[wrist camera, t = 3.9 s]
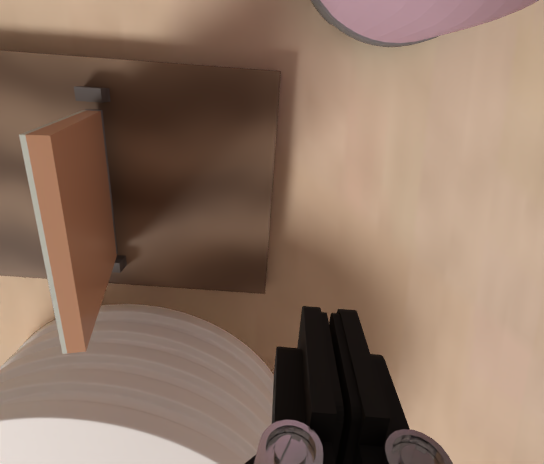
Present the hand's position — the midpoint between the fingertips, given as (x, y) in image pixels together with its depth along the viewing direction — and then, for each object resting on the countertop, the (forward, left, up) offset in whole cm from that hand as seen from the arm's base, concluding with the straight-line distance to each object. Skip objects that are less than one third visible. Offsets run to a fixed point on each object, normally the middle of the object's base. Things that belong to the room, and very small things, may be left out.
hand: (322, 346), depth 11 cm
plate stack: (+25, -13, -17) cm, 32 cm away
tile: (0, -12, -10) cm, 15 cm away
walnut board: (0, -13, -17) cm, 21 cm away
